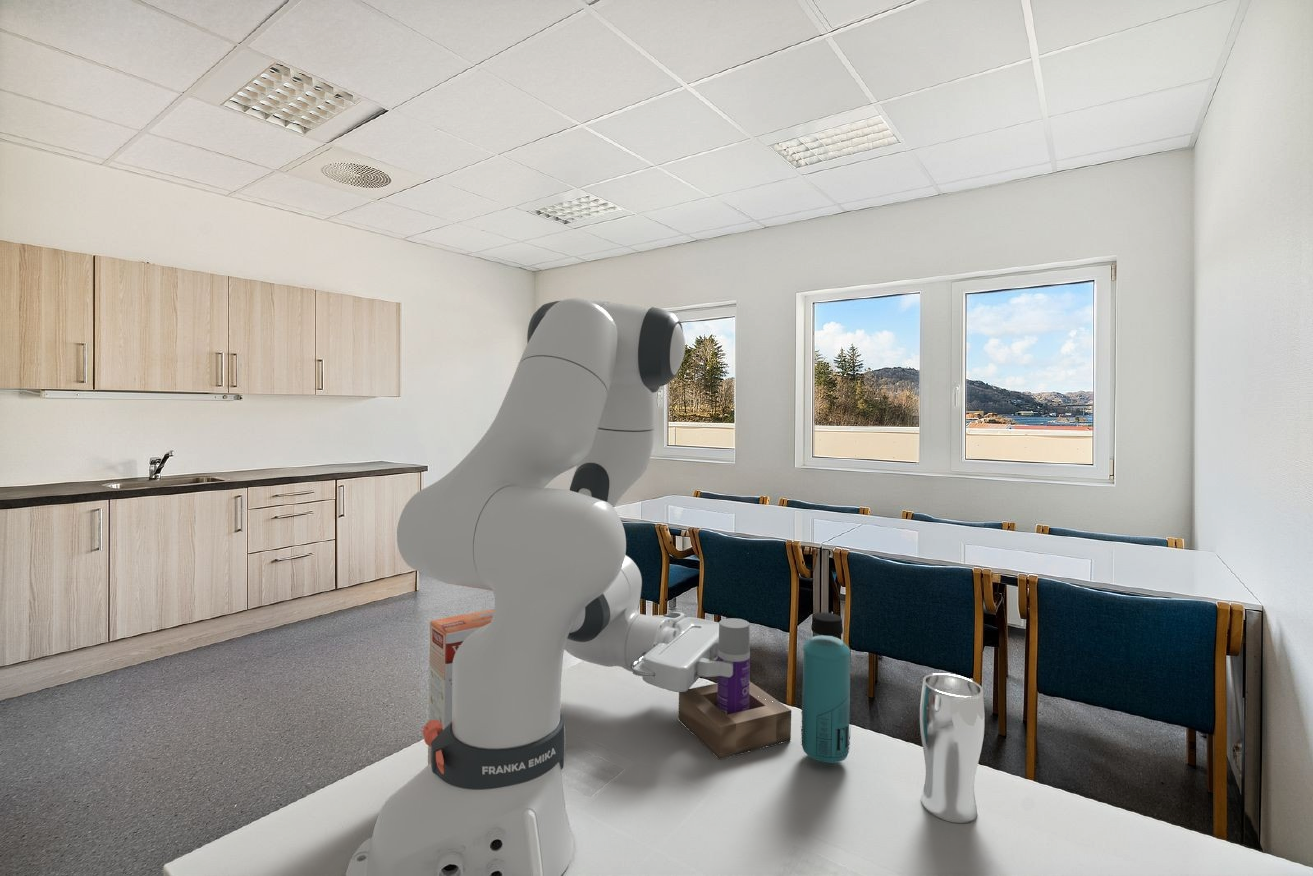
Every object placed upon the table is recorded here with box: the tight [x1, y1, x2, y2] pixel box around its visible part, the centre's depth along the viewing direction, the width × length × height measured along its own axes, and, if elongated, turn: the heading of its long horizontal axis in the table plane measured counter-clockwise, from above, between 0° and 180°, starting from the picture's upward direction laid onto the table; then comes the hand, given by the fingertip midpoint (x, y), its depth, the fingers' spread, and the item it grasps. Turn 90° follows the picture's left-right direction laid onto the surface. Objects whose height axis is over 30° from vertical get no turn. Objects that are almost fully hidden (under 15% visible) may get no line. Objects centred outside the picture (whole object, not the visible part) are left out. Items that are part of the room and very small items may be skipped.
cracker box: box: [427, 608, 494, 766], centre depth 78 cm, size 14×6×21 cm, turn 129°
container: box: [717, 617, 751, 715], centre depth 91 cm, size 5×5×15 cm
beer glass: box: [919, 672, 985, 824], centre depth 74 cm, size 7×7×15 cm
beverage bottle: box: [800, 612, 852, 763], centre depth 83 cm, size 6×7×20 cm
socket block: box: [677, 680, 792, 761], centre depth 91 cm, size 12×12×4 cm
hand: (739, 662), depth 90 cm, fingers closed on container, 4 cm apart
